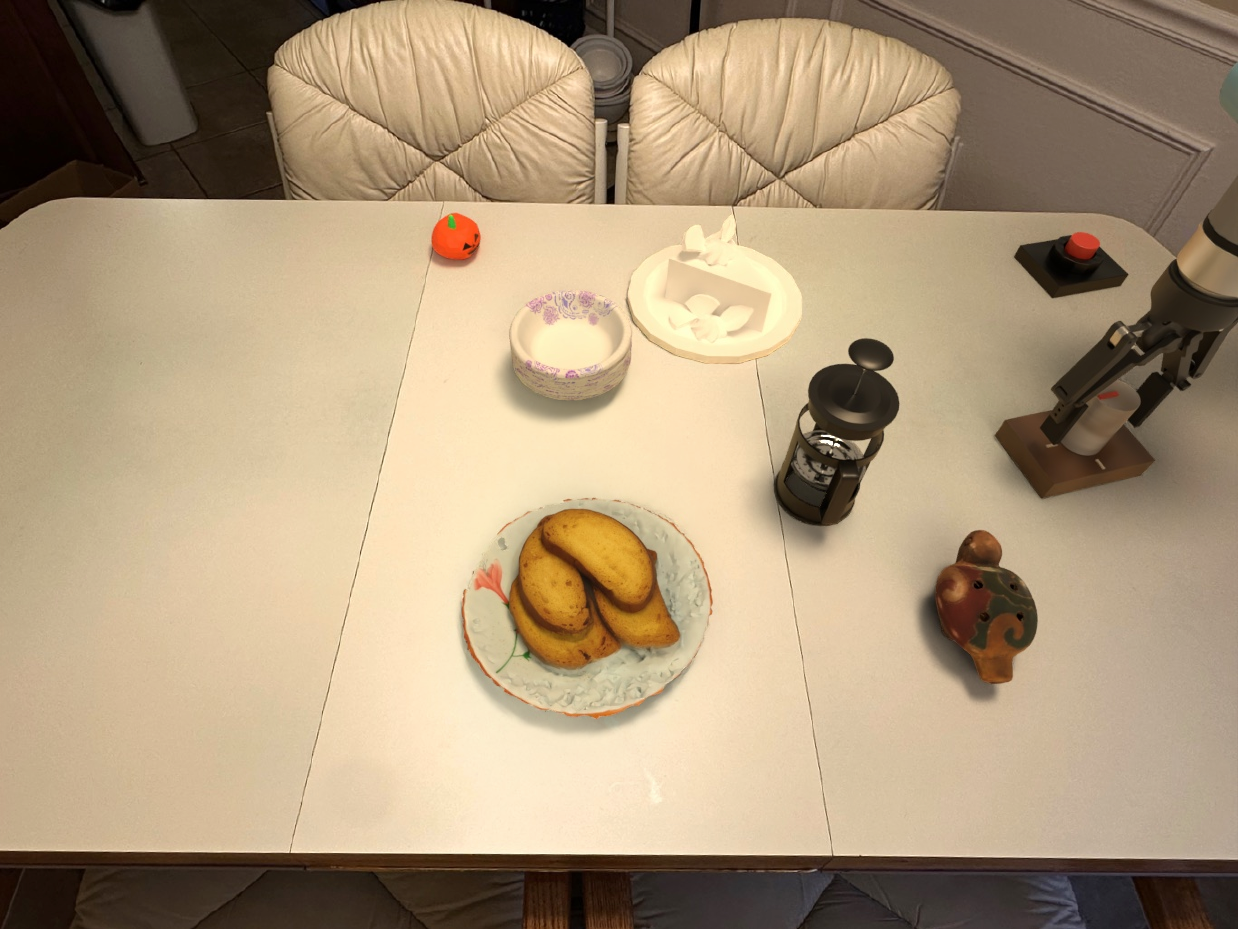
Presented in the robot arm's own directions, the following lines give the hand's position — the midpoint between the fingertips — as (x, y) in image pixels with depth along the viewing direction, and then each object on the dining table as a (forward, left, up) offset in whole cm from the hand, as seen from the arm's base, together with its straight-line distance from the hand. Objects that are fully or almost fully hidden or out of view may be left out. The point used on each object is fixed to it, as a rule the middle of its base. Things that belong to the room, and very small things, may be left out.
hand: (1089, 427), depth 87 cm
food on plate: (+62, +5, -6) cm, 62 cm away
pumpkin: (+67, -57, -6) cm, 88 cm away
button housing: (-22, -31, -5) cm, 38 cm away
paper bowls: (+56, -28, -6) cm, 63 cm away
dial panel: (0, 0, -5) cm, 5 cm away
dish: (+33, -37, -6) cm, 50 cm away
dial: (0, 0, -2) cm, 2 cm away
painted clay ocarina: (+24, +17, -6) cm, 30 cm away
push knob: (-22, -31, -2) cm, 38 cm away
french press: (+33, -2, -6) cm, 34 cm away
